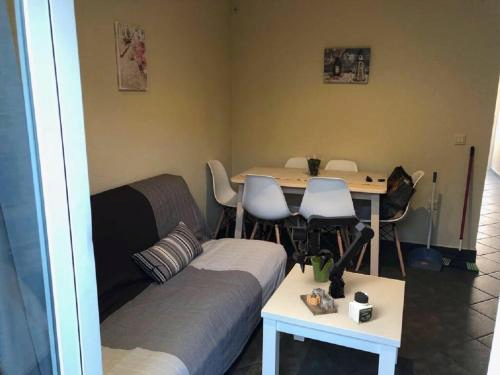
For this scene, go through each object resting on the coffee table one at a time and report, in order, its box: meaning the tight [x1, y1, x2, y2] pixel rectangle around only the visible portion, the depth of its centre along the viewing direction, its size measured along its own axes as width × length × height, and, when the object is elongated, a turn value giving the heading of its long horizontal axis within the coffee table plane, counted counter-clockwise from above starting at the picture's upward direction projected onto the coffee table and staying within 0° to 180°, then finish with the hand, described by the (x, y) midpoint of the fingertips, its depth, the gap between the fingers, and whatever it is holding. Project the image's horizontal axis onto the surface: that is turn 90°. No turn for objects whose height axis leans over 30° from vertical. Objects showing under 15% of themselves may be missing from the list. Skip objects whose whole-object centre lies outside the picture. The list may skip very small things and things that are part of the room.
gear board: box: [299, 287, 338, 316], centre depth 188 cm, size 11×17×6 cm, turn 14°
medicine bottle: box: [348, 290, 373, 325], centre depth 176 cm, size 7×7×12 cm
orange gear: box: [306, 292, 320, 305], centre depth 188 cm, size 6×6×3 cm
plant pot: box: [310, 257, 334, 283], centre depth 216 cm, size 12×12×11 cm
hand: (311, 272), depth 197 cm, fingers open, 9 cm apart
